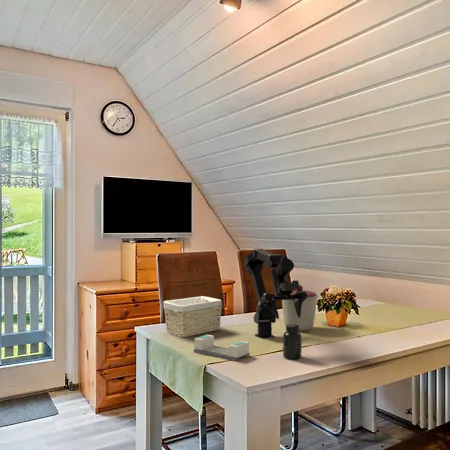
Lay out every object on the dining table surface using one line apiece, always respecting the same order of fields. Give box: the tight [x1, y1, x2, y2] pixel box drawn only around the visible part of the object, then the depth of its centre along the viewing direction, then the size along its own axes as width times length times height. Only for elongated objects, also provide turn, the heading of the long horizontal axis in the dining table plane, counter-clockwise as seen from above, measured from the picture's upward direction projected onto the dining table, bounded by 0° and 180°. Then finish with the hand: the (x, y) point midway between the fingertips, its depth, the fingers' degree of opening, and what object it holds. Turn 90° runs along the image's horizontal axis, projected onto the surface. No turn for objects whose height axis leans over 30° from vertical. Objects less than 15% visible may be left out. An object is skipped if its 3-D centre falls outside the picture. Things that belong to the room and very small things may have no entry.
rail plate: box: [193, 345, 251, 362], centre depth 166 cm, size 20×9×1 cm, turn 55°
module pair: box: [193, 334, 250, 358], centre depth 166 cm, size 20×8×4 cm, turn 55°
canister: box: [281, 284, 319, 332], centre depth 208 cm, size 18×18×21 cm
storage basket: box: [162, 295, 223, 338], centre depth 202 cm, size 24×16×15 cm
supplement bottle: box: [282, 324, 303, 361], centre depth 161 cm, size 7×7×12 cm
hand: (289, 318), depth 169 cm, fingers open, 9 cm apart
